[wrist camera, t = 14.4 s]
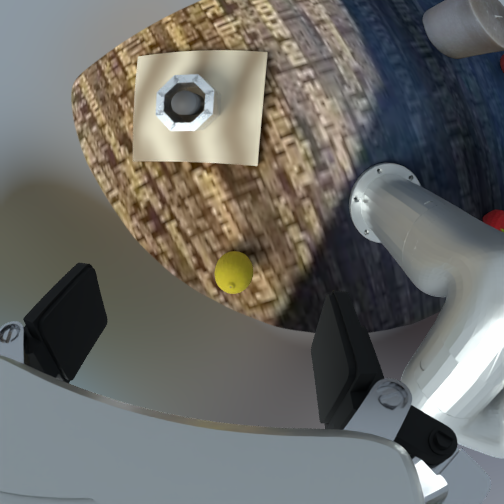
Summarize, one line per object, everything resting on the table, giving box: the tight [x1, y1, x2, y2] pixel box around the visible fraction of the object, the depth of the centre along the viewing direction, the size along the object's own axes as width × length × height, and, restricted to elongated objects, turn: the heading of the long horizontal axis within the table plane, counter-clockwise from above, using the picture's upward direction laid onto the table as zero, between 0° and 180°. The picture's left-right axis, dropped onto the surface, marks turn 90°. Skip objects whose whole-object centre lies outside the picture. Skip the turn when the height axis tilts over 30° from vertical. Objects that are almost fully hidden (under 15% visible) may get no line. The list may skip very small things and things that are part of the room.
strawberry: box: [483, 210, 504, 232], centre depth 33 cm, size 6×8×10 cm
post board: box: [133, 50, 268, 166], centre depth 31 cm, size 18×16×6 cm
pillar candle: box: [423, 0, 504, 59], centre depth 17 cm, size 10×10×15 cm
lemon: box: [215, 251, 253, 294], centre depth 40 cm, size 6×6×8 cm
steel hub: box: [156, 74, 221, 131], centre depth 30 cm, size 7×7×5 cm
